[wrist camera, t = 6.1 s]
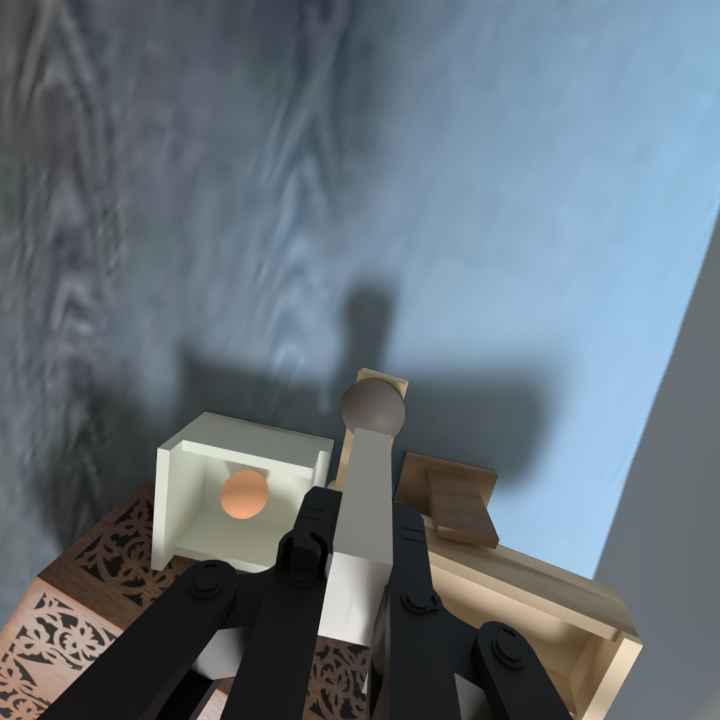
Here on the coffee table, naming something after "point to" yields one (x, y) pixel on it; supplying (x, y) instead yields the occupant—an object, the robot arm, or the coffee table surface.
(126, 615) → the tissue box cover
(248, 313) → the coffee table surface
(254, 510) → the ball
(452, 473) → the fulcrum
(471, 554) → the lever
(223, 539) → the bin
